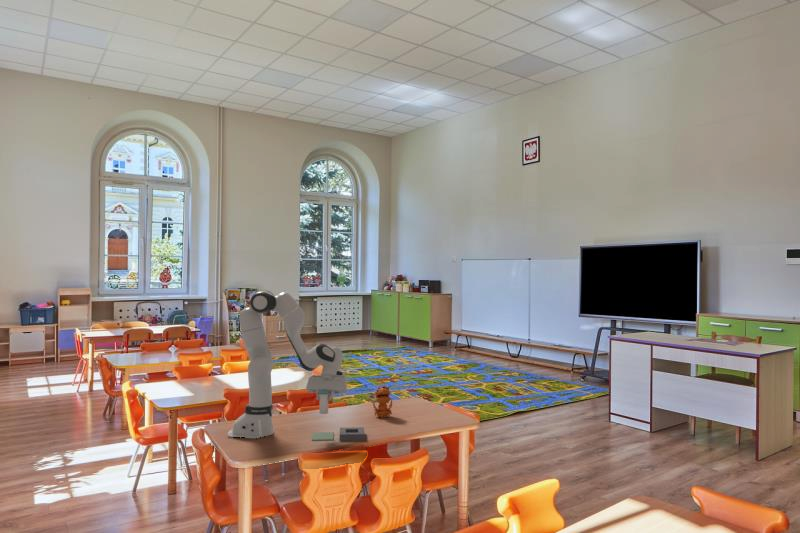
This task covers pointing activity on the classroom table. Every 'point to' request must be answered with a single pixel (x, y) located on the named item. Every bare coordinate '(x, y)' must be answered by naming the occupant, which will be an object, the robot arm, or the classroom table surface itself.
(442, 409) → the classroom table surface
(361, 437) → the grey square base
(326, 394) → the filter cartridge
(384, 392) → the brown plush toy
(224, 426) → the classroom table surface
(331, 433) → the service mat
